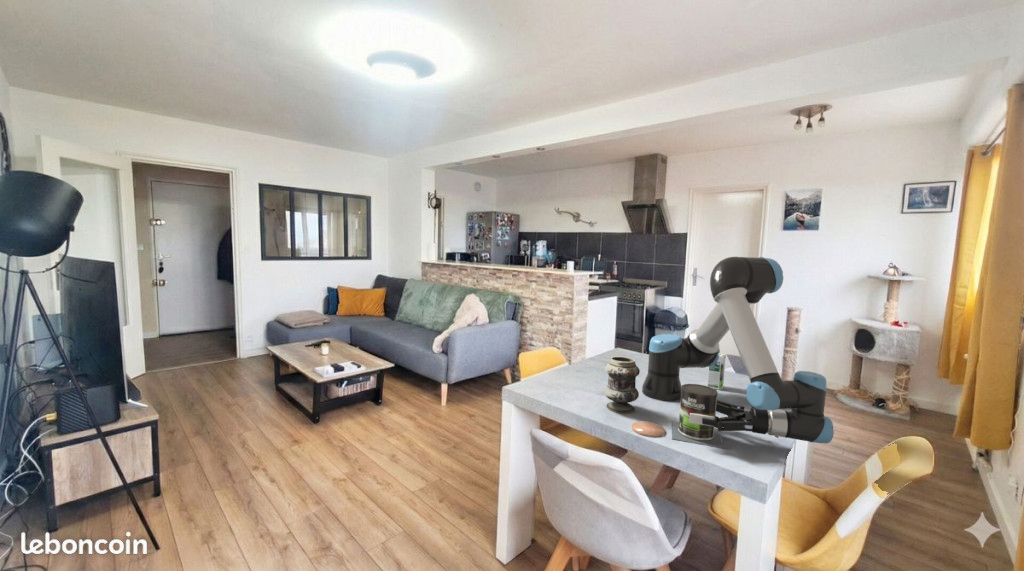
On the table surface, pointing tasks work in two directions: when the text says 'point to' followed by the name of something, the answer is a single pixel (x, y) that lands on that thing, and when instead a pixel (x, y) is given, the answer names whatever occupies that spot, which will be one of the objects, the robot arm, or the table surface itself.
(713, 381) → the syrup box
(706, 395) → the coffee can
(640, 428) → the peach egg
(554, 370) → the table surface
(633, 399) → the apothecary jar
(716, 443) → the gray tile
